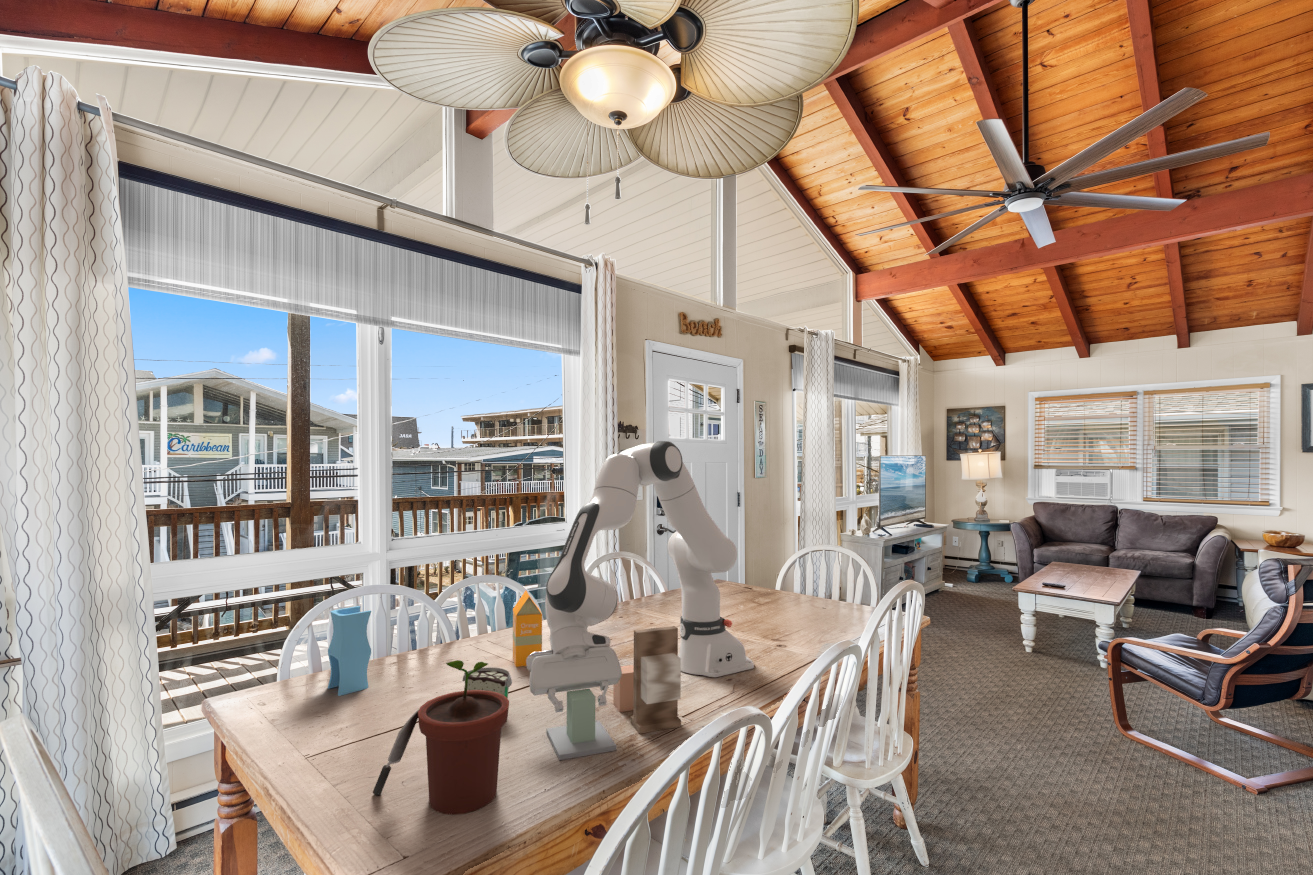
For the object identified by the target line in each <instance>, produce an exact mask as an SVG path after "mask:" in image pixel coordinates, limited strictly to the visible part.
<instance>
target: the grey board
mask: <svg viewBox="0 0 1313 875" xmlns="http://www.w3.org/2000/svg"><path fill="white" fill-rule="evenodd" d="M546 735H547V738H548V739H549V742H550V744H551V746H552V748H553V750H554V752H555V754H556V756H557V758H558V760H559V761H563V760H570V759H576V758H580V757H586V756H591V755H597V754H603V753H608V752H609V753H610V752H613V751H617V744H616V742H615V741H614V740H613V739H612V737H611V735H610V733H609V732H608V731H607V730H606V728H605V726H604V725H603V724H602V723H601V720H599V719H598V720H595V740H591V741H585V742H579V743H573V744H572V743H571V741H570V739H569V737H568V735H567V724H566V725H560V726H554V727H547V728H546Z"/></svg>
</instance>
